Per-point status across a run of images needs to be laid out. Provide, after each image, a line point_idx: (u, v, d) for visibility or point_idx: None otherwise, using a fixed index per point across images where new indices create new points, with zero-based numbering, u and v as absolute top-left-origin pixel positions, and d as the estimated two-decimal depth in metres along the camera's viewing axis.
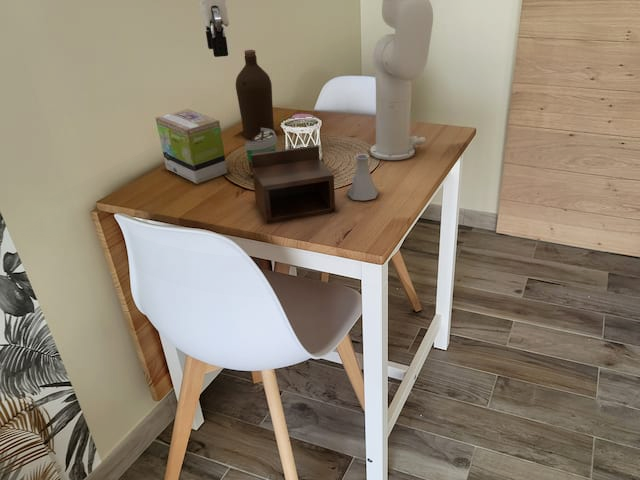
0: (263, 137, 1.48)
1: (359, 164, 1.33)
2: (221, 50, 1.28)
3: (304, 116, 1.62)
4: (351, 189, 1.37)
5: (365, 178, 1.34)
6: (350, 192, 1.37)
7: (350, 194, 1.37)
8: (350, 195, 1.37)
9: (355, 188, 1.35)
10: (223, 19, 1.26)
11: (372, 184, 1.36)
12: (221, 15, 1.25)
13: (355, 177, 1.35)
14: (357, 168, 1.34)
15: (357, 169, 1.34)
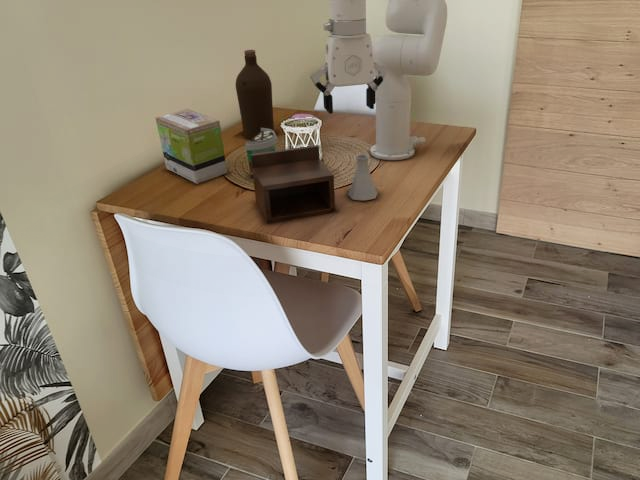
0: (263, 137, 1.48)
1: (359, 164, 1.33)
2: (325, 106, 1.26)
3: (304, 116, 1.62)
4: (351, 189, 1.37)
5: (365, 178, 1.34)
6: (350, 192, 1.37)
7: (350, 194, 1.37)
8: (350, 195, 1.37)
9: (355, 188, 1.35)
10: (329, 78, 1.22)
11: (372, 184, 1.36)
12: (328, 74, 1.21)
13: (355, 177, 1.35)
14: (357, 168, 1.34)
15: (357, 169, 1.34)
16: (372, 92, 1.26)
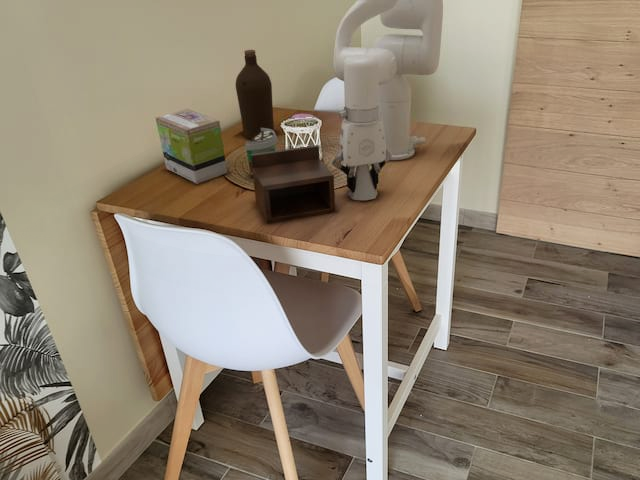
0: (263, 137, 1.48)
1: None
2: (348, 186, 1.36)
3: (304, 116, 1.62)
4: None
5: (365, 178, 1.34)
6: (350, 192, 1.37)
7: (350, 194, 1.37)
8: (350, 195, 1.37)
9: (355, 188, 1.35)
10: None
11: (372, 184, 1.36)
12: None
13: (355, 177, 1.35)
14: (357, 168, 1.34)
15: (357, 169, 1.34)
16: (375, 175, 1.35)
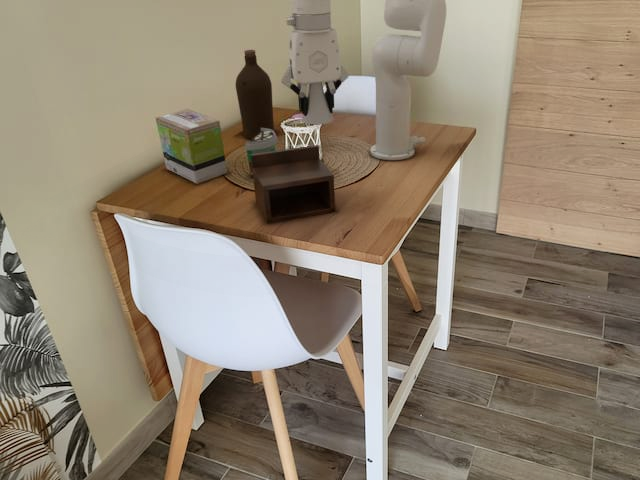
0: (263, 137, 1.48)
1: (312, 83, 1.19)
2: (300, 108, 1.22)
3: None
4: None
5: (318, 99, 1.20)
6: (303, 116, 1.23)
7: (303, 119, 1.23)
8: (303, 120, 1.23)
9: (308, 111, 1.21)
10: None
11: (328, 107, 1.23)
12: None
13: (308, 98, 1.21)
14: (310, 88, 1.20)
15: (310, 89, 1.20)
16: (330, 96, 1.21)
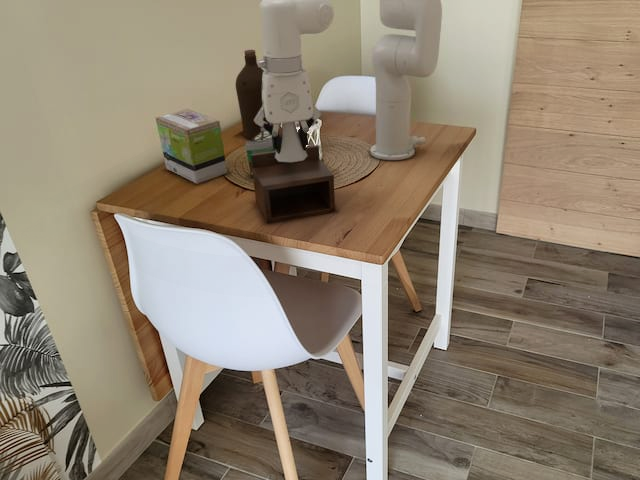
0: (263, 137, 1.48)
1: None
2: (273, 146, 1.24)
3: None
4: None
5: (291, 137, 1.22)
6: (276, 154, 1.25)
7: (276, 156, 1.25)
8: (276, 157, 1.25)
9: (281, 149, 1.23)
10: None
11: (301, 144, 1.24)
12: None
13: (281, 137, 1.23)
14: (282, 126, 1.22)
15: (282, 127, 1.22)
16: (303, 134, 1.23)
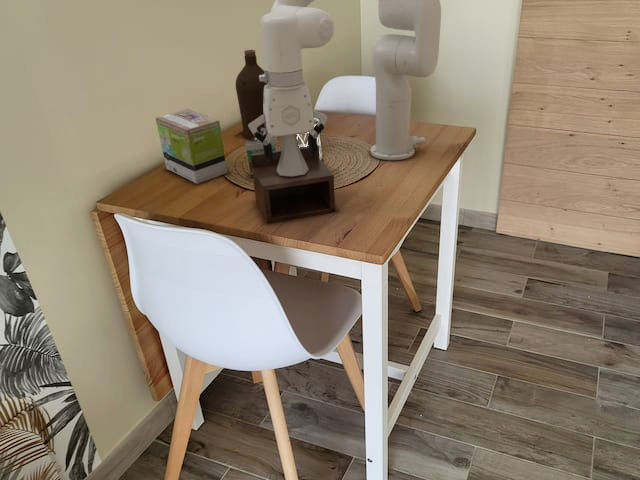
0: None
1: (286, 137, 1.23)
2: (265, 155, 1.24)
3: None
4: (279, 164, 1.27)
5: (292, 151, 1.24)
6: (278, 168, 1.27)
7: (278, 170, 1.27)
8: (278, 171, 1.27)
9: (283, 163, 1.25)
10: (267, 128, 1.20)
11: (302, 158, 1.26)
12: (266, 124, 1.20)
13: (282, 151, 1.25)
14: (284, 141, 1.24)
15: (284, 142, 1.24)
16: (313, 140, 1.25)
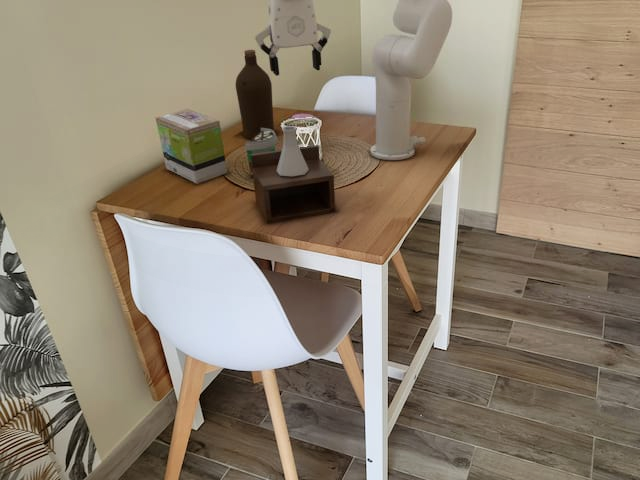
0: (263, 137, 1.48)
1: (286, 137, 1.23)
2: (271, 68, 1.28)
3: (304, 116, 1.62)
4: (279, 164, 1.27)
5: (292, 151, 1.24)
6: (278, 168, 1.27)
7: (278, 170, 1.27)
8: (278, 171, 1.27)
9: (283, 163, 1.25)
10: (273, 39, 1.24)
11: (302, 158, 1.26)
12: (272, 35, 1.24)
13: (282, 151, 1.25)
14: (284, 141, 1.24)
15: (284, 142, 1.24)
16: (317, 53, 1.29)
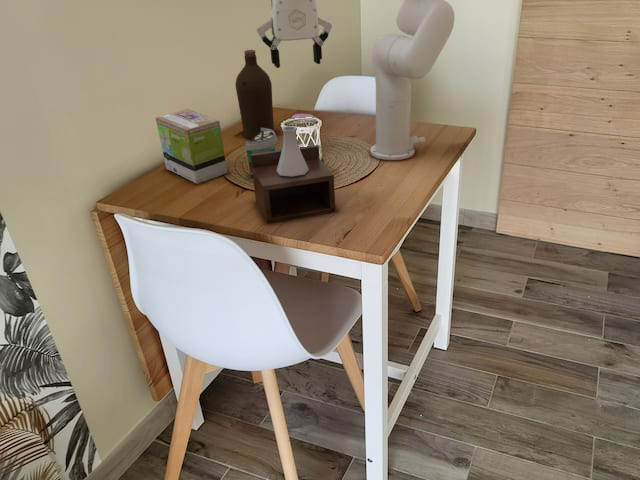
0: (263, 137, 1.48)
1: (286, 137, 1.23)
2: (272, 60, 1.31)
3: (304, 116, 1.62)
4: (279, 164, 1.27)
5: (292, 151, 1.24)
6: (278, 168, 1.27)
7: (278, 170, 1.27)
8: (278, 171, 1.27)
9: (283, 163, 1.25)
10: (274, 32, 1.27)
11: (302, 158, 1.26)
12: (273, 28, 1.26)
13: (282, 151, 1.25)
14: (284, 141, 1.24)
15: (284, 142, 1.24)
16: (318, 47, 1.32)
